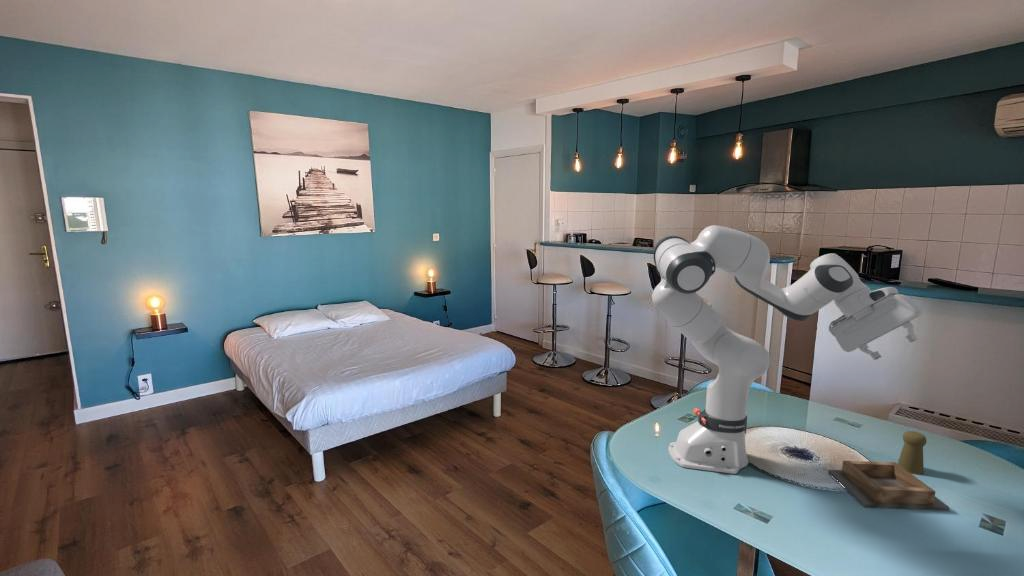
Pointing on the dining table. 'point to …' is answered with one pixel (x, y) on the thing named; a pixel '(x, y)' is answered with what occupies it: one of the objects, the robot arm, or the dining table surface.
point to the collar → (886, 486)
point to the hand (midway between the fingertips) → (895, 350)
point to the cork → (912, 452)
